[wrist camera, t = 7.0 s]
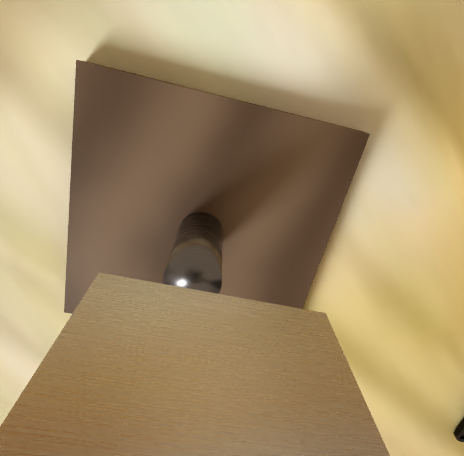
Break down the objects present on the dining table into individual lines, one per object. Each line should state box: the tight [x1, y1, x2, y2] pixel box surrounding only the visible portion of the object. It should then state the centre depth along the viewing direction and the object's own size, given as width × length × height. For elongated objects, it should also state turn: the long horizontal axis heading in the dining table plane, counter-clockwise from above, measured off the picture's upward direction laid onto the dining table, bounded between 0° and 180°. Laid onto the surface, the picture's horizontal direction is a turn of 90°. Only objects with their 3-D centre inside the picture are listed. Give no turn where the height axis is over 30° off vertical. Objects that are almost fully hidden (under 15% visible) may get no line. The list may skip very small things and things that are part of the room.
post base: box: [64, 60, 370, 314], centre depth 16 cm, size 14×14×6 cm
